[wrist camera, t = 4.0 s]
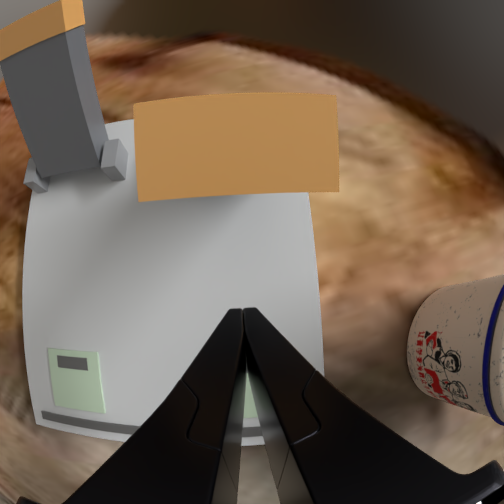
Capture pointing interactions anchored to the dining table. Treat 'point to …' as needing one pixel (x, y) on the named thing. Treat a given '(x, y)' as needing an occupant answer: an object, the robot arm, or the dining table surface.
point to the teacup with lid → (461, 346)
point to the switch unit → (151, 289)
